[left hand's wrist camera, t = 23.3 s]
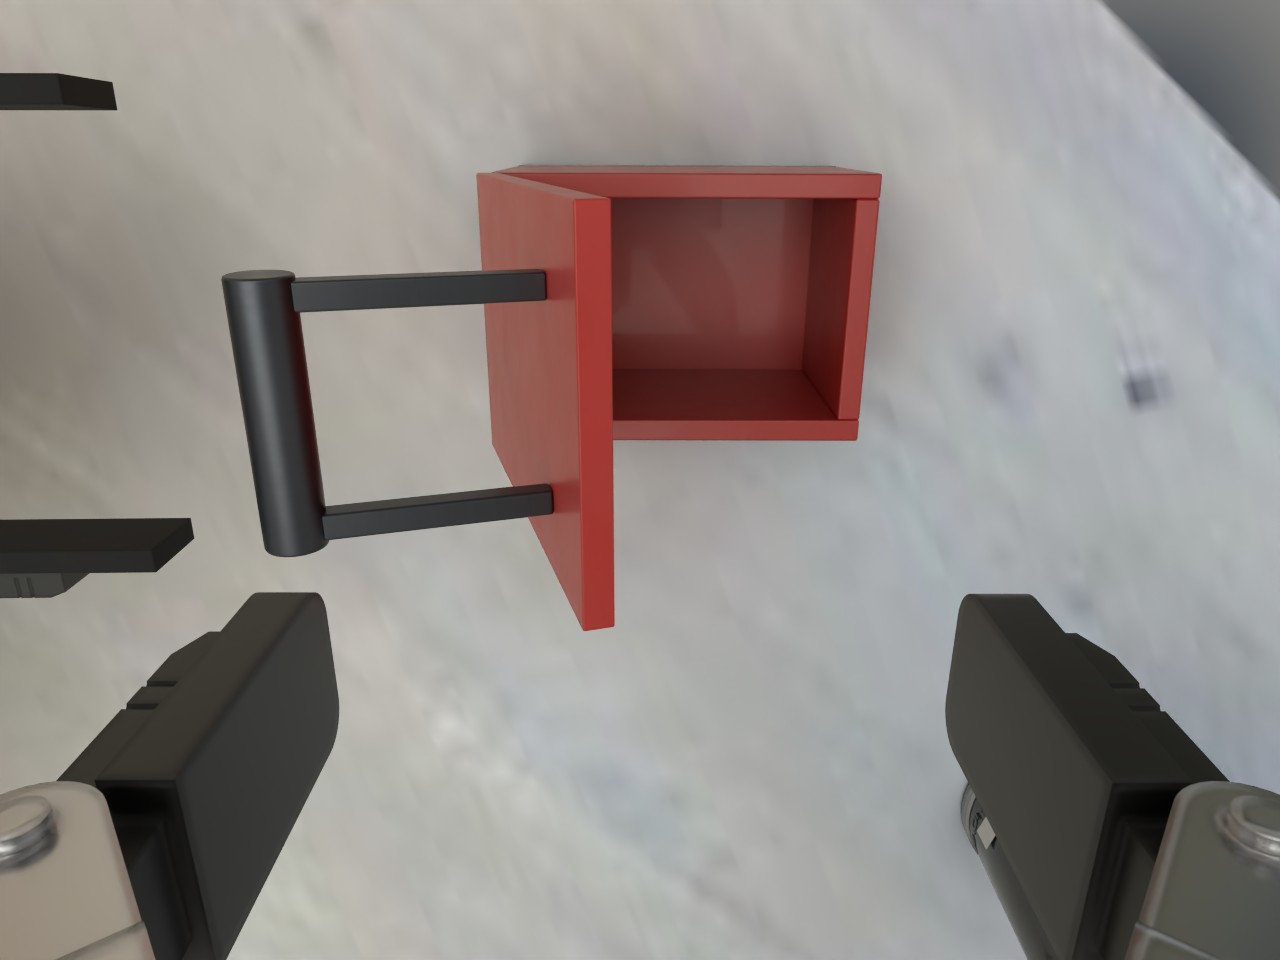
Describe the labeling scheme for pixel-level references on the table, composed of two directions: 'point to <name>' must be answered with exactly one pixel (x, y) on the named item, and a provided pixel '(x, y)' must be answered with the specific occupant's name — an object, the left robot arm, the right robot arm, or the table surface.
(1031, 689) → the left robot arm
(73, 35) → the table surface
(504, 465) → the lid
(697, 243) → the chest
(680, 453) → the table surface
